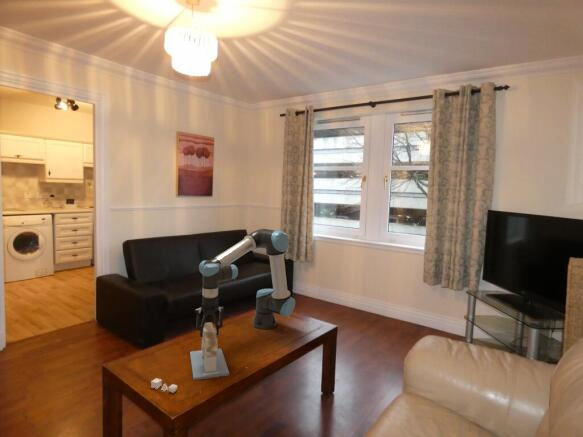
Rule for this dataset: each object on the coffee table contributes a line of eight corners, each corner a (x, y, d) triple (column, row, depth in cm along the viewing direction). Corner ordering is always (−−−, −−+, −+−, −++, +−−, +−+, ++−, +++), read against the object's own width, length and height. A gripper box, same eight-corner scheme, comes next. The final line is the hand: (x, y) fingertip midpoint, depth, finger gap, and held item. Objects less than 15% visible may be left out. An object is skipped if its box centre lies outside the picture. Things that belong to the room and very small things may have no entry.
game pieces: (150, 388, 149) (150, 381, 149) (156, 384, 152) (156, 377, 152) (173, 395, 145) (173, 387, 144) (178, 391, 148) (178, 383, 147)
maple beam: (211, 335, 181) (211, 322, 181) (217, 354, 161) (217, 339, 160) (201, 336, 180) (202, 323, 179) (206, 355, 159) (206, 341, 159)
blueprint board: (220, 350, 186) (221, 335, 185) (228, 375, 161) (229, 358, 161) (190, 353, 180) (190, 338, 180) (193, 380, 156) (193, 362, 155)
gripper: (191, 299, 162) (190, 347, 164) (230, 297, 168) (228, 343, 170) (190, 294, 169) (189, 340, 171) (227, 292, 175) (226, 337, 177)
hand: (209, 342), depth 170 cm, fingers closed on maple beam, 5 cm apart
